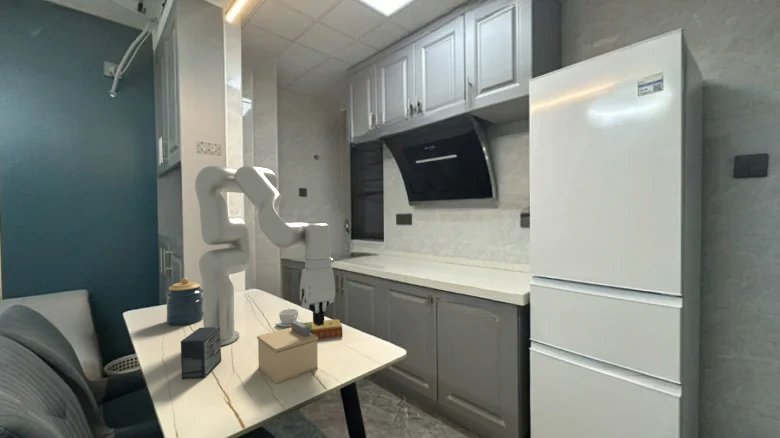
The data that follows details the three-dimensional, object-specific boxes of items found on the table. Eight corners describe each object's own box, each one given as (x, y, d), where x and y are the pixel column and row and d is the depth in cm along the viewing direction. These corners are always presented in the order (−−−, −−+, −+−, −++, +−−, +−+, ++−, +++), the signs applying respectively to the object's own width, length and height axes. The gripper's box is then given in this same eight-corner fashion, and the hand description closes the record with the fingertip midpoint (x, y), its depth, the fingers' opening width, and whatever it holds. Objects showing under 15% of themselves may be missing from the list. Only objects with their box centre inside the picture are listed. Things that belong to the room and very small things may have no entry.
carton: (342, 337, 118) (342, 325, 117) (295, 343, 113) (295, 330, 113) (339, 329, 125) (339, 318, 125) (295, 334, 121) (295, 322, 121)
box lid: (257, 338, 94) (257, 327, 94) (297, 328, 102) (297, 318, 102) (275, 352, 85) (275, 340, 85) (318, 339, 93) (318, 328, 93)
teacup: (271, 323, 132) (270, 312, 132) (292, 317, 139) (292, 306, 139) (284, 329, 125) (284, 317, 125) (306, 323, 133) (306, 311, 132)
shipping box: (258, 367, 94) (258, 339, 94) (297, 355, 102) (297, 329, 102) (276, 383, 85) (276, 353, 85) (317, 368, 93) (317, 340, 93)
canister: (158, 324, 131) (157, 280, 131) (187, 314, 143) (186, 274, 143) (183, 327, 127) (183, 282, 127) (211, 317, 140) (210, 275, 139)
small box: (199, 361, 98) (198, 326, 98) (222, 360, 99) (221, 326, 98) (179, 379, 88) (179, 340, 87) (205, 378, 88) (204, 339, 88)
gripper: (332, 260, 108) (332, 316, 108) (289, 265, 97) (289, 327, 98) (345, 262, 102) (346, 321, 103) (301, 268, 92) (302, 334, 92)
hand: (318, 324), depth 100 cm, fingers closed
